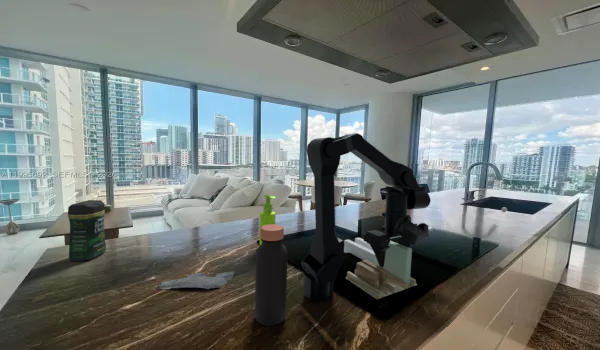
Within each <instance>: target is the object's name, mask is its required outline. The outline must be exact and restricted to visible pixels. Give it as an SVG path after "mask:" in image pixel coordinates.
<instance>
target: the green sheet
mask: <svg viewBox="0 0 600 350" xmlns="http://www.w3.org/2000/svg"><path fill="white" fill-rule="evenodd" d="M388 246H390V248H388V249H387V250H386V254H385V262H384V267H381V268H383V269H385V270H387V271H388V273H390V274H392V275H394V276H396V277H398V278H399V279H401V280H403V281H405V282H407V283H408V284H407V285H410V277H411V269H412V268H411V267H412V256H413V254H412V253H413V249H412V248H408V247H405V246H403V245H400V244H399V242H394V241H392V240H390V243H389V245H388ZM377 266H379V263H378V261H377ZM379 267H380V266H379Z"/></svg>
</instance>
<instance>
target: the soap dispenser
mask: <svg viewBox="0 0 600 350" xmlns="http://www.w3.org/2000/svg"><path fill="white" fill-rule="evenodd" d="M263 197H265V202H264V203H263V211H261V212H259V246H260V245H261V244H262V241H261V237H260V236H261V234H260V233H261V227H262V226H264V225H269V224H276V212H275V211H273V203H272V202H271V200H272V199H273V200H274V199H277V198H276V197H275V196H274V195H272V194H265V195H263Z"/></svg>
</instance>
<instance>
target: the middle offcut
mask: <svg viewBox="0 0 600 350" xmlns="http://www.w3.org/2000/svg"><path fill="white" fill-rule="evenodd" d="M361 262H362V263H364V264H366V265H367V266H369V267H371V268H373V269H375V270H376V271H378V272H380V274H379V284H380V285H382V286H384V287H385V288H387V279H388V271H387V270H385V269H383V268H381V267H379V266H377V265H375V264H374V263H372V262H370V261H368V260H362V259H361Z"/></svg>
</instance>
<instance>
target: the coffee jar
mask: <svg viewBox="0 0 600 350" xmlns="http://www.w3.org/2000/svg"><path fill="white" fill-rule="evenodd" d="M105 212H106V207H105V202H104V201H102V200H97V199H94V200H93V199H90V200H85V201H84V200H83V201H81V202H77V203H72V204H70V205H69V206H68V208H67V218H68V220H69V244H68V245H69V246H68V259H69V260H70V261H73V262H74V261H75V262H83V261H88V260H92V259H95V258H97V257H99V256H100V255H103V254H104V253H106V251H107V243H106V237H105V236H106V235H105V225H104V224H105V221H104V220H105V219H104V218H105Z"/></svg>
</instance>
